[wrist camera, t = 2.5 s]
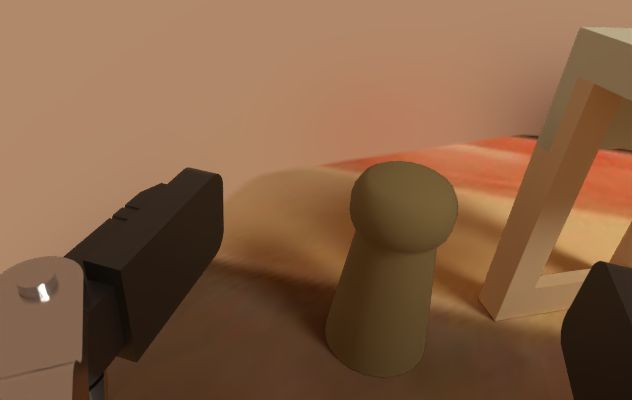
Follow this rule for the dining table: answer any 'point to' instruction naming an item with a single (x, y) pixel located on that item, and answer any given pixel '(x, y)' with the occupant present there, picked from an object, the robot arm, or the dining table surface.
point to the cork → (390, 268)
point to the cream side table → (563, 176)
